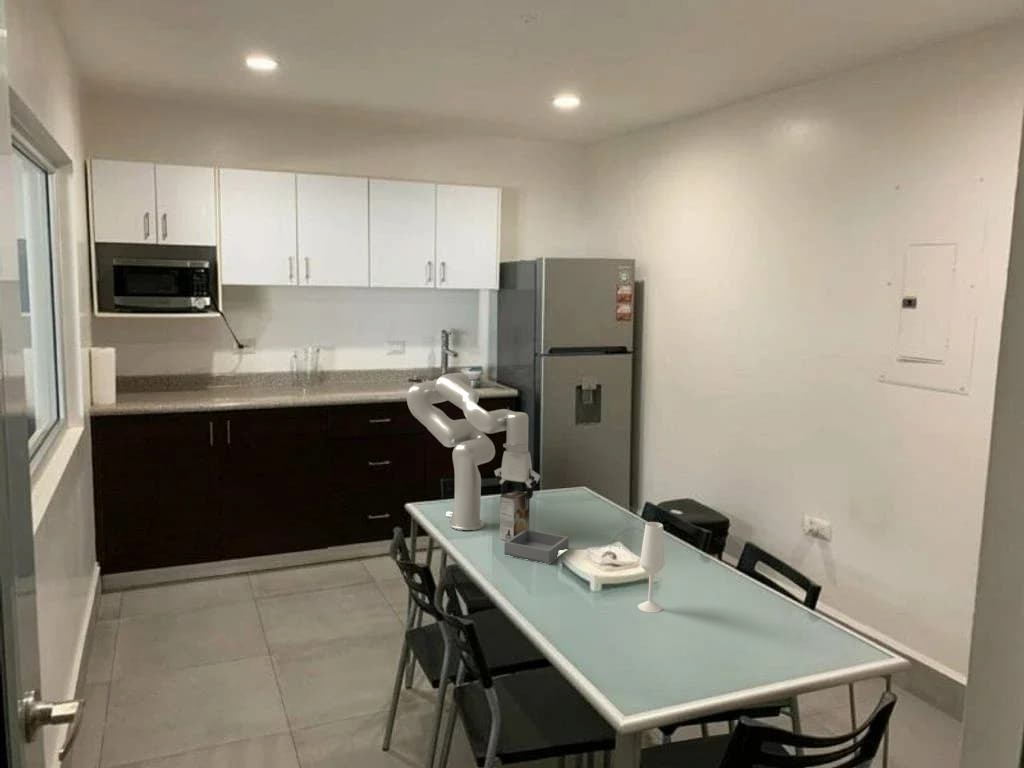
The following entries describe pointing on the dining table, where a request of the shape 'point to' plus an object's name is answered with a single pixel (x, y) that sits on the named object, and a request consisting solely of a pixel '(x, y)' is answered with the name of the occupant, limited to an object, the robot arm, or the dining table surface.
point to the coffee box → (513, 514)
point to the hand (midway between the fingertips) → (516, 496)
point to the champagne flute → (652, 560)
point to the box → (536, 546)
